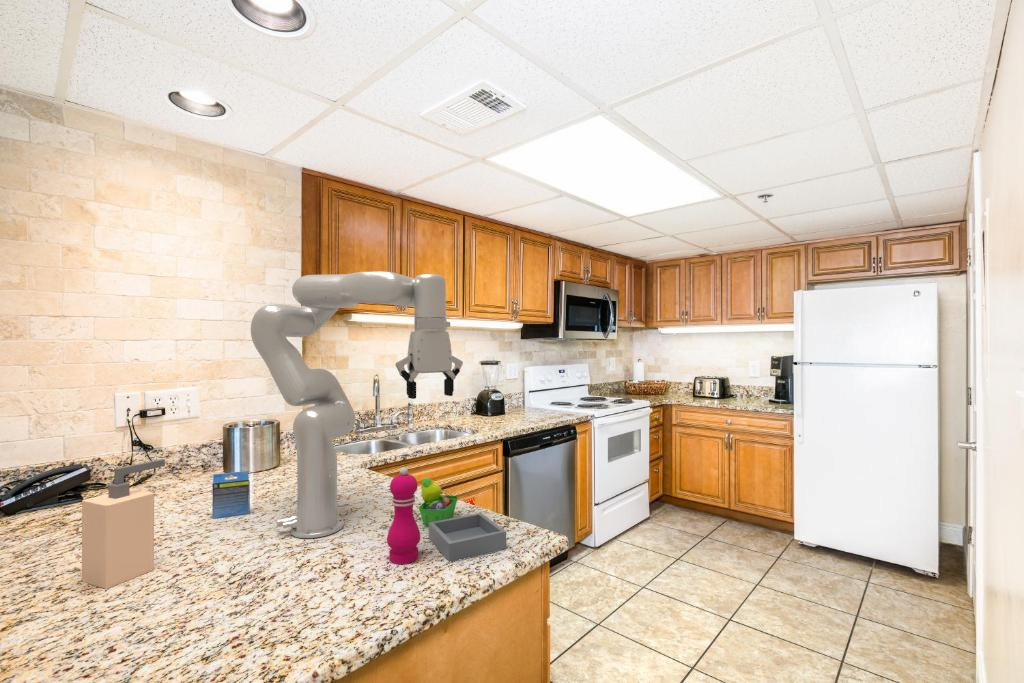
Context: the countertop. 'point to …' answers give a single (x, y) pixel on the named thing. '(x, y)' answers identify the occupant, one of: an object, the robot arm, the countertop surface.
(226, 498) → the label tape box
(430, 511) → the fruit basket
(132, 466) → the soap dispenser
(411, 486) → the pepper mill
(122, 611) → the countertop surface
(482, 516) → the tray
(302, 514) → the robot arm
